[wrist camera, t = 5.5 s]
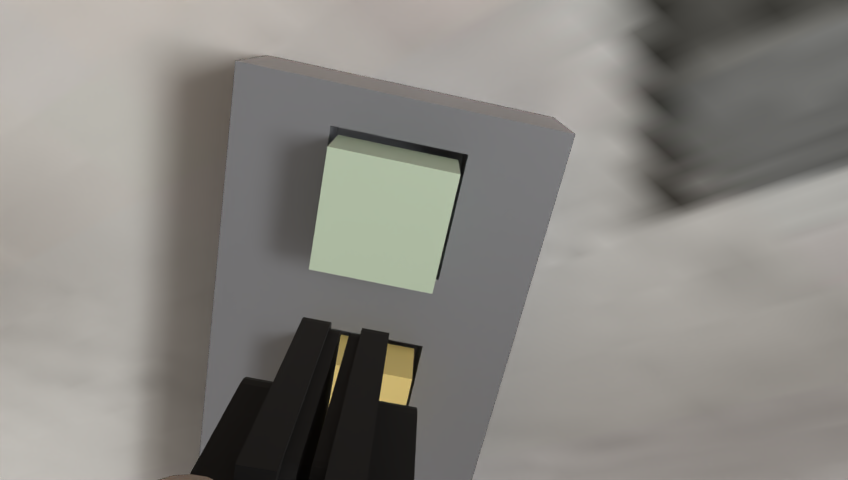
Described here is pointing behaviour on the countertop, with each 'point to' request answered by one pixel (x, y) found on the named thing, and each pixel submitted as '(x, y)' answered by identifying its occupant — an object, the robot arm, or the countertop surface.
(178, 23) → the countertop surface
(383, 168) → the sage key
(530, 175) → the console
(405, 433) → the robot arm
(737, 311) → the countertop surface
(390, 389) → the ochre key
